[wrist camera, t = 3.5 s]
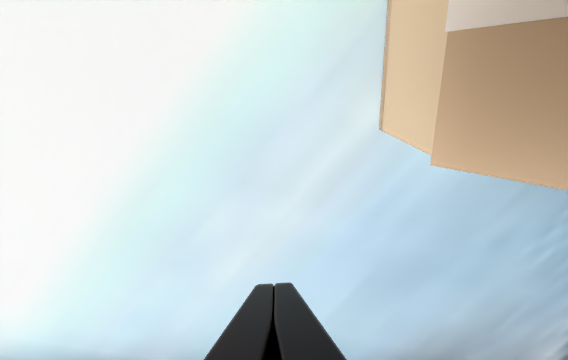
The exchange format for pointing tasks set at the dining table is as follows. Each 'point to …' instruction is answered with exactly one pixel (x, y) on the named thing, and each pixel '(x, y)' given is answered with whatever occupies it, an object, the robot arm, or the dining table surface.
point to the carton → (413, 70)
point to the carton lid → (505, 91)
